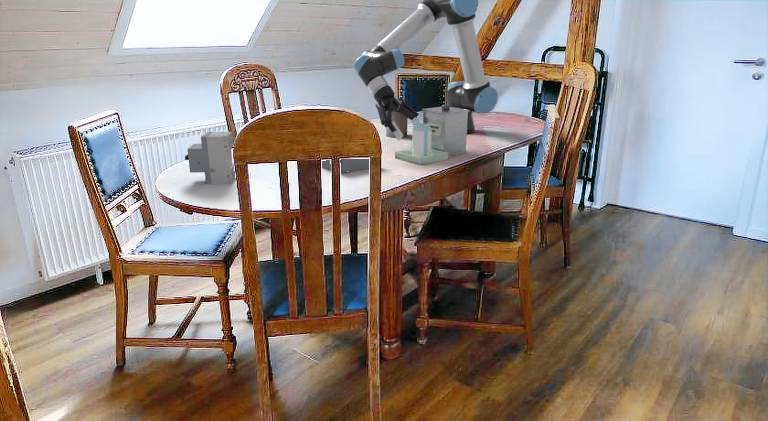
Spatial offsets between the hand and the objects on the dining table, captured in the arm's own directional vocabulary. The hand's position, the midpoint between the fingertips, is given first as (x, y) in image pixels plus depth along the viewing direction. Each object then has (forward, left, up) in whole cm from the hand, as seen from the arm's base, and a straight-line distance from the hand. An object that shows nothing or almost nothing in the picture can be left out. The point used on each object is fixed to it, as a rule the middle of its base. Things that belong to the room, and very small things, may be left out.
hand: (412, 135), depth 203 cm
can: (-1, +4, -8) cm, 9 cm away
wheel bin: (+27, -4, -8) cm, 29 cm away
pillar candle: (-23, -36, -9) cm, 43 cm away
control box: (-15, +2, -8) cm, 17 cm away
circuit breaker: (+72, -16, -9) cm, 74 cm away
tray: (-1, +4, -8) cm, 9 cm away
